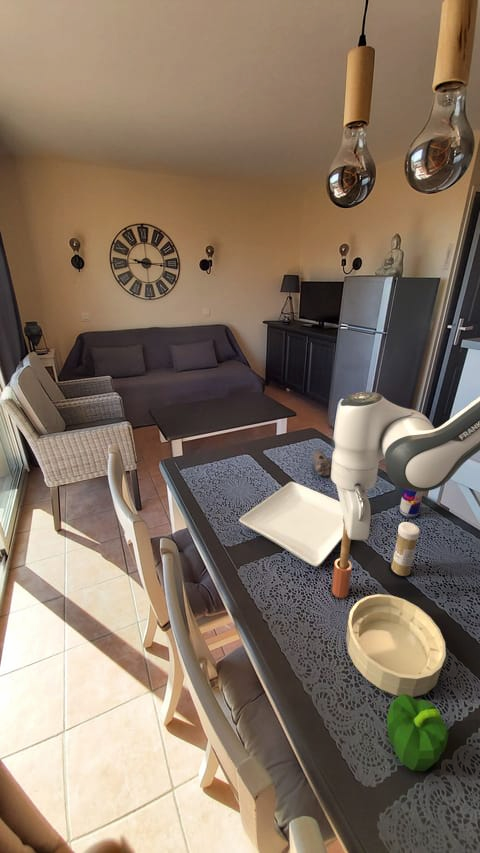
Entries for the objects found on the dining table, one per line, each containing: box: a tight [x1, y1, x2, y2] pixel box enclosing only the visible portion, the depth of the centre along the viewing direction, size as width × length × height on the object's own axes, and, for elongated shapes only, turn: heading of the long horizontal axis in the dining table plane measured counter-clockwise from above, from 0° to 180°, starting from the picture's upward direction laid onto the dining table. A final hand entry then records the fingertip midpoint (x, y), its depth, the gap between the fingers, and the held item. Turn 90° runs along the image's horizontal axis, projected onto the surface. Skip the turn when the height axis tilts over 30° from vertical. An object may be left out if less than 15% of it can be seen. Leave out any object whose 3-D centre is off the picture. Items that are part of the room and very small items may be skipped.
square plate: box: [238, 481, 344, 568], centre depth 106 cm, size 27×27×4 cm
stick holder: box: [331, 557, 353, 599], centre depth 84 cm, size 4×4×8 cm
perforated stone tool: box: [311, 449, 332, 478], centre depth 135 cm, size 15×5×7 cm, turn 1°
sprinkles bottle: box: [390, 521, 421, 577], centre depth 88 cm, size 5×5×13 cm
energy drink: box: [399, 488, 424, 518], centre depth 109 cm, size 5×5×12 cm
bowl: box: [345, 593, 447, 698], centre depth 71 cm, size 17×17×6 cm
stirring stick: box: [339, 521, 352, 569], centre depth 80 cm, size 2×2×20 cm
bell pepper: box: [386, 694, 450, 772], centre depth 55 cm, size 8×8×10 cm
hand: (347, 527), depth 78 cm, fingers closed on stirring stick, 2 cm apart
